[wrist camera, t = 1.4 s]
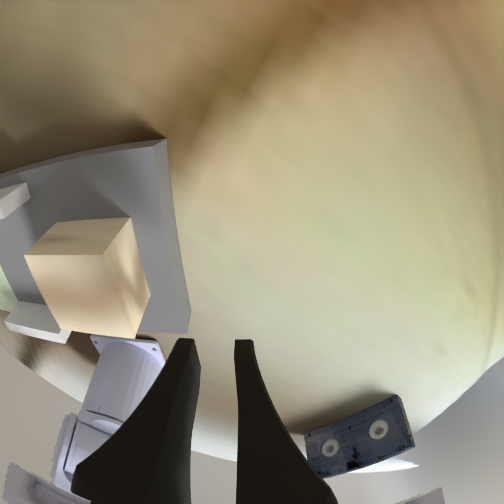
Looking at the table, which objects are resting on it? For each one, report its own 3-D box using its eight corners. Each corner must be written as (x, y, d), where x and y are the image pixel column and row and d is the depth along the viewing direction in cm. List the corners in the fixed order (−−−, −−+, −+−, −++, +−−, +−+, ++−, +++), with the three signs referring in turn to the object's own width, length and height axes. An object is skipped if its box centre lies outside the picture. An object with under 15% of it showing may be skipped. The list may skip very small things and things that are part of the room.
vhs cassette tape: (310, 435, 42) (315, 481, 33) (302, 433, 41) (307, 480, 32) (401, 397, 35) (416, 446, 27) (397, 393, 34) (413, 445, 26)
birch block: (150, 295, 18) (134, 338, 15) (82, 291, 18) (60, 328, 15) (130, 216, 15) (102, 254, 11) (56, 222, 15) (23, 255, 11)
